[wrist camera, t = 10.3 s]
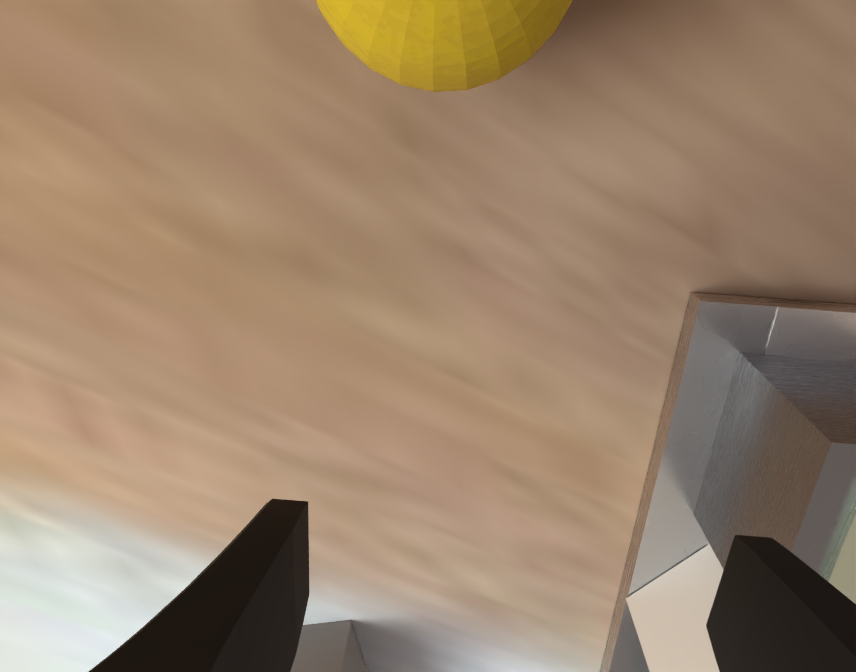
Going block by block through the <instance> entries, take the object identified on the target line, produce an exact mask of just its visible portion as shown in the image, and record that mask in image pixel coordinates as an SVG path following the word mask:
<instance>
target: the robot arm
mask: <svg viewBox="0 0 856 672" xmlns="http://www.w3.org/2000/svg"><path fill="white" fill-rule="evenodd" d="M308 597H309V539H308V502H307V501H294V500H281V499H272V500H270V501H269V502H268V503H267V504H265V506H264V507H263V508H262V509H261V510H260V511H259V512H258V513H257V515H256V516H255V517H254V518H253V519H252V520H251V521H250V522H249V523H248V524H247V526H246V527H245V528H244V529H243V530H242V531H241V532H240V533H239V534H238V535H237V536H236V538H235V539H234V540H233V541H232V542H231V543H230V544H229V545H228V546H227V547H226V548H225V549H224V550H223V551H222V552H221V553H220V554H219V555H218V556H217V557H216V558H215V559H214V560H213V561H212V562H211V563H210V564H209V565H208V566H207V567H206V568H205V569H204V570H203V571H202V572H201V573H200V574H199V575H198V576H197V577H196V578H195V579H194V580H193V581H192V582H191V583H190V584H189V585H188V586H187V587H186V588H185V589H184V590H183V591H182V592H181V593H180V594H179V595H178V596H177V597H176V598H175V599H173V600H172V601H171V602H170V603H169V604H168V605H167V606H166V607H165V608H164V609H162V610H161V611H160V612H159V613H158V614H157V615H156V616H155V617H154V618H153V619H151V620H150V621H149V622H148V623H147V624H146V625H145V626H144V627H143V628H141V629H140V630H139V631H138V632H137V633H136V634H134V635H133V636H132V637H131V638H130V639H129V640H127V641H126V642H125V643H124V644H123V645H121V646H120V647H119V648H118V649H117V650H115V651H114V652H113V653H112V654H110V655H109V656H108V657H107V658H106V659H104V660H103V661H102V662H100V663H99V664H98V665H97V666H95V667H94V668H93V669H92V670H90V671H89V672H290V671H291V668H292V665H293V662H294V659H295V656H296V652H297V648H298V644H299V639H300V635H301V630H302V626H303V621H304V616H305V611H306V607H307V602H308ZM706 627H707V631H708V634H709V638H710V641H711V645H712V648H713V652H714V655H715V659H716V662H717V665H718V668H719V671H720V672H856V604H855V603H854V602H852V601H851V600H850V599H849V598H848V597H846V596H845V595H844V594H843V593H841V592H840V591H839V590H838V589H836V588H835V587H834V586H833V585H832V584H830V583H829V582H828V581H827V580H825V579H824V578H823V577H822V576H820V575H819V574H818V573H817V572H815V571H814V570H813V569H812V568H811V567H809V566H808V565H807V564H806V563H804V562H803V561H802V560H801V559H799V558H798V557H797V556H795V555H794V554H793V553H792V552H790V551H789V550H788V549H786V548H785V547H784V546H782V545H781V544H780V543H778V542H777V541H776V540H774V539H773V538H770V537H758V536H745V535H735V536H734V539H733V542H732V545H731V548H730V552H729V555H728V558H727V561H726V564H725V567H724V570H723V574H722V577H721V580H720V583H719V586H718V589H717V592H716V596H715V599H714V602H713V605H712V608H711V611H710V614H709V617H708V621H707V624H706Z"/></svg>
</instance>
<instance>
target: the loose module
mask: <svg viewBox="0 0 856 672" xmlns="http://www.w3.org/2000/svg"><path fill="white" fill-rule="evenodd" d="M722 574H723V568H722V566H721V564H720V562H719V560H718V559H717V557H716V555H715V553H714V551H713V549H712V548H711V546H710V544H709V545H707V546H706V547H704V548H703V549H701V550H700V551H698V552H697V553H695V554H693V555H692V556H690V557H689V558H687V559H686V560H684V561H683V562H681V563H680V564H678V565H677V566H675V567H674V568H672V569H671V570H669V571H667V572H666V573H664V574H663V575H661V576H660V577H658V578H657V579H655V580H654V581H652V582H651V583H649V584H648V585H646V586H644V587H643V588H641V589H640V590H638V591H637V592H635V593H634V594H632V595H631V596H629V597H628V598H626V601H627V604H628V607H629V610H630V613H631V616H632V619H633V622H634V625H635V628H636V631H637V634H638V638H639V641H640V644H641V647H642V650H643V653H644V656H645V659H646V662H647V665H648V668H649V671H650V672H720V671H719V668H718V665H717V662H716V659H715V655H714V652H713V648H712V645H711V641H710V638H709V634H708V631H707V627H706V624H707V621H708V617H709V614H710V611H711V608H712V605H713V602H714V599H715V596H716V592H717V589H718V586H719V583H720V580H721V577H722Z"/></svg>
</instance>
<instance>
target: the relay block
mask: <svg viewBox="0 0 856 672" xmlns="http://www.w3.org/2000/svg"><path fill="white" fill-rule="evenodd" d="M290 672H368V671H367V668H366V665H365V662H364V659H363V656H362V653H361V649H360V646H359V643H358V640H357V637H356V634H355V631H354V627H353V624H352V621H351V620H345V621H336V622H327V623H319V624H310V625H303V626H302V630H301V635H300V639H299V644H298V648H297V652H296V656H295V659H294V662H293V665H292V668H291V671H290Z"/></svg>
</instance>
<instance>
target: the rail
mask: <svg viewBox="0 0 856 672" xmlns="http://www.w3.org/2000/svg"><path fill="white" fill-rule="evenodd" d="M735 535H745V536H758V537H770V538H773V539H774V540H776V541H777V542H778V543H780V544H781V545H782V546H784V547H785V548H786V549H788V550H789V551H790V552H792V553H793V554H794V555H795V556H797V557H798V558H799V559H801V560H802V561H803V562H804V563H806V564H807V565H808V566H809V567H811V568H812V569H813V570H814V571H815V572H817V573H818V574H819V575H820V576H822V577H823V578H824V579H825V580H827V581H828V582H829V583H830V584H832V585H833V586H834V587H835V588H836V589H838V590H839V591H840V592H841V593H843V594H844V595H845V596H846V597H848V598H849V599H850V600H851V601H852V602H854V603H855V604H856V304H844V303H830V302H816V301H803V300H789V299H776V298H762V297H748V296H735V295H721V294H707V293H694V292H691V294H690V299H689V303H688V307H687V311H686V315H685V319H684V324H683V328H682V332H681V336H680V340H679V344H678V349H677V353H676V357H675V361H674V365H673V370H672V374H671V378H670V382H669V386H668V390H667V395H666V399H665V403H664V407H663V411H662V415H661V420H660V424H659V428H658V432H657V436H656V441H655V445H654V449H653V453H652V457H651V461H650V466H649V470H648V474H647V478H646V482H645V486H644V491H643V495H642V499H641V503H640V507H639V512H638V516H637V520H636V524H635V528H634V532H633V537H632V541H631V545H630V549H629V553H628V557H627V562H626V566H625V570H624V574H623V578H622V583H621V587H620V591H619V595H618V599H617V603H616V608H615V612H614V616H613V620H612V624H611V628H610V633H609V637H608V641H607V645H606V649H605V654H604V658H603V662H602V666H601V670H600V672H650V671H649V668H648V665H647V662H646V659H645V656H644V653H643V650H642V647H641V644H640V641H639V638H638V634H637V631H636V628H635V625H634V622H633V619H632V616H631V613H630V610H629V607H628V604H627V601H626V598H628V597H629V596H631V595H632V594H634V593H635V592H637V591H638V590H640V589H641V588H643V587H644V586H646V585H648V584H649V583H651V582H652V581H654V580H655V579H657V578H658V577H660V576H661V575H663V574H664V573H666V572H667V571H669V570H671V569H672V568H674V567H675V566H677V565H678V564H680V563H681V562H683V561H684V560H686V559H687V558H689V557H690V556H692V555H693V554H695V553H697V552H698V551H700V550H701V549H703V548H704V547H706V546H707V545H709V544H710V546H711V548H712V549H713V551H714V553H715V555H716V557H717V559H718V560H719V562H720V564H721V566H722V568H723V570H724V567H725V564H726V561H727V558H728V555H729V552H730V548H731V545H732V542H733V539H734V536H735Z"/></svg>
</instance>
